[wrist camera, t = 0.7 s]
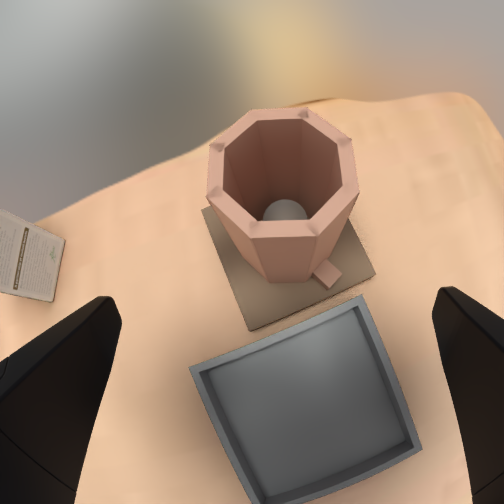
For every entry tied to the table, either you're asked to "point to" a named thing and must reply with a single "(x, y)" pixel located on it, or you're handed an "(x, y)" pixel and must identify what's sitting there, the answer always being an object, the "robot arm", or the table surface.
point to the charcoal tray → (309, 407)
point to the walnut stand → (285, 294)
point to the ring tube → (284, 191)
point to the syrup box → (28, 258)
